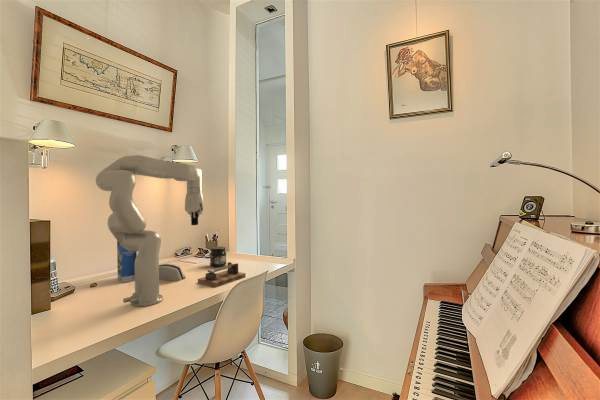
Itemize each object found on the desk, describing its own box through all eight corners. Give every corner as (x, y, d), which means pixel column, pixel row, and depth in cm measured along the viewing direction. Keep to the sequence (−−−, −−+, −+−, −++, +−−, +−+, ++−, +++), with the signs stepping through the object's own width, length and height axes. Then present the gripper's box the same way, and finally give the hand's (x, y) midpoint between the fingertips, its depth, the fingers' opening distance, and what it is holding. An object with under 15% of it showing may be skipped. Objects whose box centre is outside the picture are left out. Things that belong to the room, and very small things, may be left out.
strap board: (215, 287, 150) (215, 272, 150) (197, 282, 158) (197, 268, 158) (245, 276, 169) (245, 263, 169) (228, 273, 176) (228, 260, 176)
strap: (212, 273, 155) (212, 270, 155) (207, 272, 157) (207, 269, 157) (235, 267, 169) (235, 264, 169) (230, 266, 171) (230, 263, 171)
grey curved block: (186, 277, 167) (182, 262, 164) (181, 283, 163) (177, 267, 159) (160, 276, 171) (156, 261, 167) (155, 281, 166) (151, 266, 163)
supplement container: (213, 263, 201) (212, 246, 201) (228, 263, 201) (228, 246, 200) (207, 267, 191) (207, 249, 190) (223, 267, 190) (223, 249, 190)
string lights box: (117, 278, 167) (116, 233, 167) (132, 275, 172) (131, 232, 172) (122, 283, 157) (121, 235, 157) (137, 280, 162) (137, 234, 162)
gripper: (179, 191, 159) (180, 224, 159) (197, 190, 151) (197, 226, 151) (191, 191, 165) (191, 223, 166) (209, 190, 157) (209, 225, 158)
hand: (194, 224), depth 158 cm, fingers closed
